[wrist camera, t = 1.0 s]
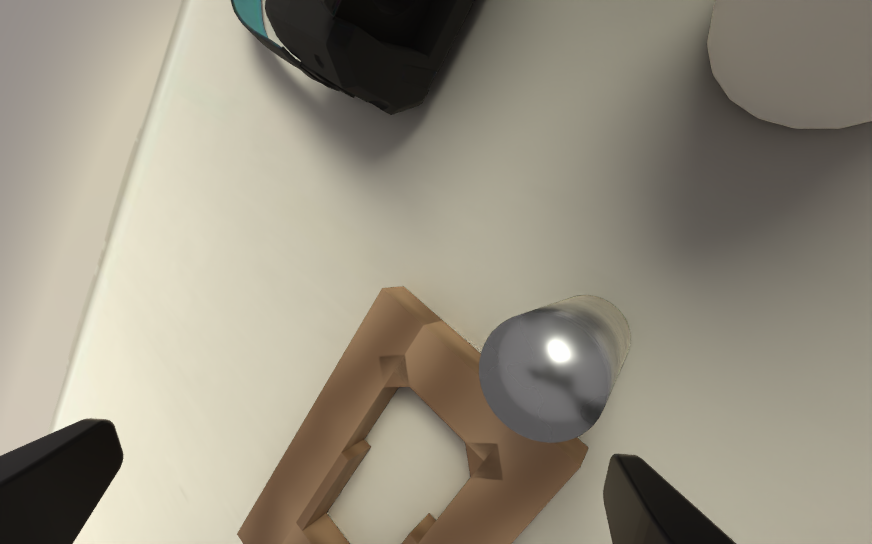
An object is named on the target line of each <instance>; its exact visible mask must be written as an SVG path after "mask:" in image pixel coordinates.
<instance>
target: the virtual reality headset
mask: <svg viewBox="0 0 872 544" xmlns="http://www.w3.org/2000/svg"><path fill="white" fill-rule="evenodd" d="M473 2H474V0H266V3H265V10H266V14H267V17H268V19H269V21H270V23H271V25H272V27H273V29H274V31H275V34H276V36H277V37H278V38H279V40H280V41H281V42H282V43H283V45H284V46H285V47H286V48H287V49H288V50H289V51H290V52H291V53H292V54H293V55H295V56H296V57H297V58H298V59H300V60H301V62H300V61H298V60H297V59H295V58H294V57H293V56H292V55H291V54H290V53H289V52H288V51H287V50H286V49H285V48H284V47H280V46H279V45H278V44H276V43H275V42H273V41H272V40H270V39H269V38H268V36H267V34H266V31H265V29H264V25H263V20H262V11H261V0H231V3H232V6H233V9H234V12H235V14H236V15H237V17H238V19H239V20H240V21H241V23H242V24H243V25H244V26H245V27H246V28H247V29H248V30H249V31H250V32H251V33H252V34H253V35H254V36H255V37H256V38H257V39H258V40H259V41H260V42H261V43H262V44H264V45H265V46H266V47H267V48H269V49H270V50H271V51H273V52H274V53H275V54H277V55H278V56H280V57H281V58H283V59H284V60H286V61H287V62H289V63H290V64H292V65H293V66H295V67H297V68H298V69H300V70H301V71H303V72H304V73H305V74H306V75H307V76H308V77H310V78H311V79H313V80H315V81H318V82H320V83H322V84H324V85H325V86H327V87H329V88H331V89H334V90H337V91H341V92H343V93H345V94H347V95H349V96H351V97H353V98H354V96H357V97H359V98H360V99H362V100H364V101H366V102H370V103H371V104H373V105H375V106H376V107H378V108H380V109H381V110H383V111H385V112H387V113H388V114H390V115H392V114H395V113H398V112H401V111H404V110H406V109H409V108H412V107H415V106H418V105H420V104H421V103H422V102H423V101H424V99H425V97H426V95H427V93H428V91H429V90H428V88H429V86H430V84H431V82H432V80H433V78H434V76H435V74H436V72H438V71H439V69H440V67H441V65H442V63H443V61H444V59H445V57H446V55H447V53H448V51H449V49H450V47H451V45H452V43H453V41H454V39H455V37H456V35H457V33H458V31H459V29H460V27H461V25H462V23H463V21H464V19H465V17H466V15H467V14H468V12H469V10H470V8H471V6H472V4H473Z"/></svg>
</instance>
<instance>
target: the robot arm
mask: <svg viewBox="0 0 872 544" xmlns="http://www.w3.org/2000/svg"><path fill="white" fill-rule="evenodd" d="M122 462H123V451H122V448H121V444H120V441H119V438H118V435H117V432H116V429H115V426H114V424H113V423H112V422H111V421H110V420H106V419H92V418H90V419H84V420H81V421H79V422H76V423H74V424H72V425H69V426H67V427H65V428H63V429H60V430H58V431H56V432H54V433H51V434H49V435H47V436H44V437H42V438H40V439H38V440H36V441H33V442H31V443H29V444H26V445H24V446H22V447H20V448H17V449H15V450H13V451H10V452H8V453H6V454H4V455H2V456H0V544H73V542H74V540H75V539H76V537H77V536H78V534H79V533H80V531H81V529H82V528H83V526H84V525H85V523H86V521H87V520H88V518H89V517H90V515H91V513H92V512H93V510H94V509H95V507H96V506H97V504H98V502H99V501H100V499H101V498H102V496H103V494H104V493H105V491H106V490H107V488H108V486H109V485H110V483H111V482H112V480H113V479H114V477H115V475H116V474H117V472H118V471H119V469H120V467H121V465H122ZM603 498H604V505H605V510H606V515H607V519H608V524H609V529H610V533H611V538H612V542H613V544H736V543H735V542H734V541H733V540H732V539H731V538H730V537H728V536H727V535H726V534H725V533H724V532H723V531H722V530H721V529H720V528H718V527H717V526H716V525H715V524H714V523H713V522H712V521H711V520H709V519H708V518H707V517H706V516H705V515H704V514H703V513H702V512H701V511H699V510H698V509H697V508H696V507H695V506H694V505H693V504H692V503H691V502H689V501H688V500H687V499H686V498H685V497H684V496H683V495H682V494H680V493H679V492H678V491H677V490H676V489H675V488H674V487H673V486H672V485H670V484H669V483H668V482H667V481H666V480H665V479H664V478H663V477H662V476H660V475H659V474H658V473H657V472H656V471H655V470H654V469H653V468H652V467H650V466H649V465H648V464H647V463H646V462H645V461H644V460H643V459H641V458H640V457H638V456H636V455H627V454H614V455H613V456H612V457H611V459H610V462H609V467H608V471H607V476H606V480H605V485H604V490H603Z"/></svg>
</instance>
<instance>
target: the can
mask: <svg viewBox="0 0 872 544" xmlns="http://www.w3.org/2000/svg"><path fill="white" fill-rule="evenodd" d="M707 48H708V53H709V58H710V64H711V69H712V74H713V76H714V77H715V79H716V80H717V82H718V83H719V84H720V86H721V87H722V89H723V90H724V92H725V93H726V95H727V96H728V98H729V99H730V100H731V101H733V102H734V103H736V104H737V105H739V106H740V107H742V108H743V109H745V110H746V111H748V112H749V113H750V114H752V115H753V116H755V117H756V118H758V119H762V120H765V121H769V122H773V123H776V124H780V125H784V126H787V127H791V128H795V129H841V128H845V127H849V126H853V125H858V124H862V123H866V122H870V121H872V0H715V2H714V7H713V13H712V18H711V24H710V29H709V34H708V40H707Z"/></svg>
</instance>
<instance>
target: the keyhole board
mask: <svg viewBox="0 0 872 544" xmlns="http://www.w3.org/2000/svg"><path fill="white" fill-rule="evenodd" d="M480 356H481V354H480V353H479V352H478V351H477V350H476V349H475V348H474V347H472V346H471V345H470V344H469V343H468V342H467V341H466V340H464V339H463V338H462V337H461V336H460V335H459V334H458V333H456V332H455V331H454V330H453V329H452V328H451V327H450V326H448V325H447V324H446V323H445V322H444V321H443V320H442V319H440V318H439V317H438V316H437V315H436V314H435V313H434V312H432V311H431V310H430V309H429V308H428V307H427V306H425V305H424V304H423V303H422V302H421V301H420V300H419V299H417V298H416V297H415V296H414V295H413V294H412V293H411V292H409V291H408V290H407V289H406V288H405V287H404V286H403V287H390V288H382V290H381V291H380V293H379V295H378V296H377V298H376V300H375V301H374V303H373V305H372V306H371V308H370V310H369V312H368V313H367V315H366V317H365V318H364V320H363V322H362V323H361V325H360V327H359V328H358V330H357V332H356V334H355V335H354V337H353V339H352V340H351V342H350V344H349V345H348V347H347V349H346V350H345V352H344V354H343V356H342V357H341V359H340V361H339V362H338V364H337V366H336V367H335V369H334V371H333V372H332V374H331V376H330V378H329V379H328V381H327V383H326V384H325V386H324V388H323V389H322V391H321V393H320V394H319V396H318V398H317V400H316V401H315V403H314V405H313V406H312V408H311V410H310V411H309V413H308V415H307V416H306V418H305V420H304V422H303V423H302V425H301V427H300V428H299V430H298V432H297V433H296V435H295V437H294V438H293V440H292V442H291V444H290V445H289V447H288V449H287V450H286V452H285V454H284V455H283V457H282V459H281V461H280V462H279V464H278V466H277V467H276V469H275V471H274V472H273V474H272V476H271V477H270V479H269V481H268V483H267V484H266V486H265V488H264V489H263V491H262V493H261V494H260V496H259V498H258V499H257V501H256V503H255V505H254V506H253V508H252V510H251V511H250V513H249V515H248V516H247V518H246V520H245V521H244V523H243V525H242V527H241V528H240V530H239V532H238V533H237V535H238V536H239V538H240V539H241V541H242V542H243V544H349V542H348V541H347V540H346V538H345V537H344V536H343V534H342V533H341V532H340V530H339V529H338V528H337V527H336V525H335V524H334V523H333V521H332V520H331V519H330V517H329V516H328V515H327V511H328V510H329V508H330V507H331V505H332V504H333V502H334V501H335V499H336V498H337V496H338V495H339V493H340V492H341V491H342V489H343V488H344V486H345V485H346V483H347V482H348V480H349V479H350V477H351V476H352V474H353V473H354V471H355V470H356V468H357V467H358V465H359V464H360V462H361V461H362V459H363V458H364V456H365V455H366V453H367V452H368V450H369V449H370V447H371V446H370V445H369V444H368V443H367V442H366V441H365V440H364V439H365V437H366V436H367V434H368V433H369V431H370V430H371V428H372V427H373V425H374V424H375V422H376V421H377V419H378V418H379V416H380V415H381V413H382V412H383V410H384V409H385V407H386V406H387V404H388V403H389V401H390V399H391V398H392V396H393V395H394V393H395V392H396V390H397V389H398V387H410V388H411V389H412V390H413V391H414V392H415V393H416V394H417V395H418V396H419V397H420V398H421V399H422V400H423V401H424V402H425V403H426V404H427V405H428V406H429V407H430V408H431V409H432V410H433V411H434V412H435V413H436V414H437V415H438V416H439V417H440V418H441V419H442V420H443V421H444V422H445V423H446V424H447V425H448V426H449V427H450V428H451V429H452V430H453V431H454V432H455V433H456V434H457V435H458V436H459V437H460V438H461V439H462V440H463V441H464V442H465V444H466V451H467V458H468V464H469V471H470V479H469V480H468V481H467V483H466V484H465V485H464V486H463V488H462V489H461V490H460V491H459V493H458V494H457V495H456V496H455V498H454V499H453V500H452V501H451V503H450V504H449V505H448V507H447V508H446V509H445V510H444V512H443V513H442V514H441V515H440V517H439V518H438V519H437V520H435V519H434V518H433V517H432V516H431V515H430V513H429V514H428V515H427V516H426V517H425V518H424V519H423V520H422V521H421V522H420V523H419V524H418V525H417V526H416V527H415V528H414V529H413V531H412V532H411V533H410V534H409V535H408V536H407V537H406V539H405V540H404V541H403V543H402V544H511V543H512V542H513V541H514V540H515V539H516V538H517V537H518V536H519V534H520V533H521V532H522V531H523V530H524V529H525V528H526V527H527V526H528V524H529V523H530V522H531V521H532V520H533V519H534V518H535V517H536V516H537V514H538V513H539V512H540V511H541V510H542V509H543V508H544V507H545V506H546V504H547V503H548V502H549V501H550V500H551V499H552V498H553V497H554V496H555V494H556V493H557V492H558V491H559V490H560V489H561V488H562V487H563V486H564V484H565V483H566V482H567V481H568V480H569V479H570V478H571V477H572V475H573V474H574V473H575V472H576V471H577V470H578V469H579V468H580V467H581V464H582V462H583V460H584V457H585V455H586V452H587V450H588V447H587V446H586V445H585V444H584V443H582V442H581V441H580V440H579V439H578V438H577V437H576V438H574V439H571V440H568V441H563V442H556V443H547V442H539V441H535V440H531V439H528V438H526V437H523V436H521V435H519V434H517V433H516V432H514V431H513V430H511V429H510V428H508V427H507V426H506V425H505V424H504V423H502V422H501V420H500V419H499V418H498V417H497V416H496V415H495V414H494V412H493V411H492V410H491V408H490V406H489V405H488V403H487V401H486V399H485V397H484V394H483V391H482V388H481V384H480V379H479V361H480Z"/></svg>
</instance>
